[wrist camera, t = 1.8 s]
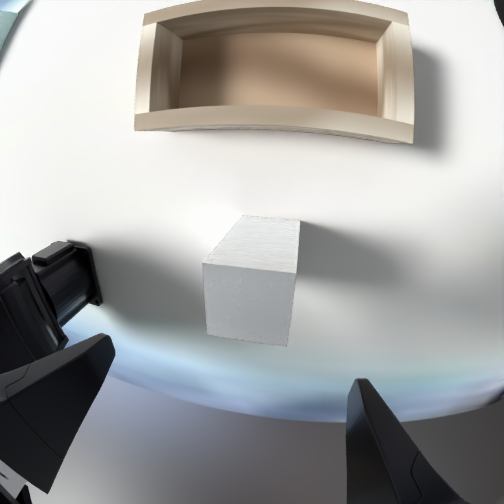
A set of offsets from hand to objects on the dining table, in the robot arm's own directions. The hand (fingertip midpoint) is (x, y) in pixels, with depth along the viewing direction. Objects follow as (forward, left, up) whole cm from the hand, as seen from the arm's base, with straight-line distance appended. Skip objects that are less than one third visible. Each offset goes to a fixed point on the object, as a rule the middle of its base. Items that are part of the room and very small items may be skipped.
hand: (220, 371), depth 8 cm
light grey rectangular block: (0, 0, -12) cm, 12 cm away
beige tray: (+12, 0, -12) cm, 17 cm away
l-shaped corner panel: (+31, +44, -13) cm, 55 cm away
